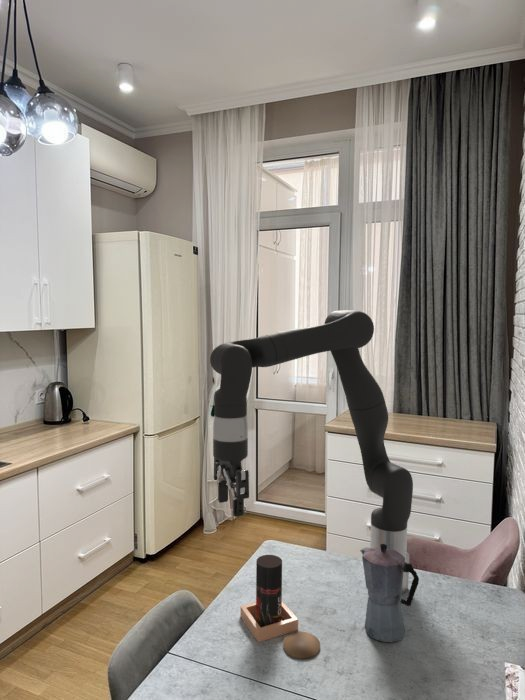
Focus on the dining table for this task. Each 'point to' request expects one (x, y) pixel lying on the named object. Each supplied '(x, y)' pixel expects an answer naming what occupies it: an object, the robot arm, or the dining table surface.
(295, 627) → the orange square frame
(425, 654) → the dining table surface
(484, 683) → the dining table surface
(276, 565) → the deodorant
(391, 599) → the moka pot
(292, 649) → the coaster
